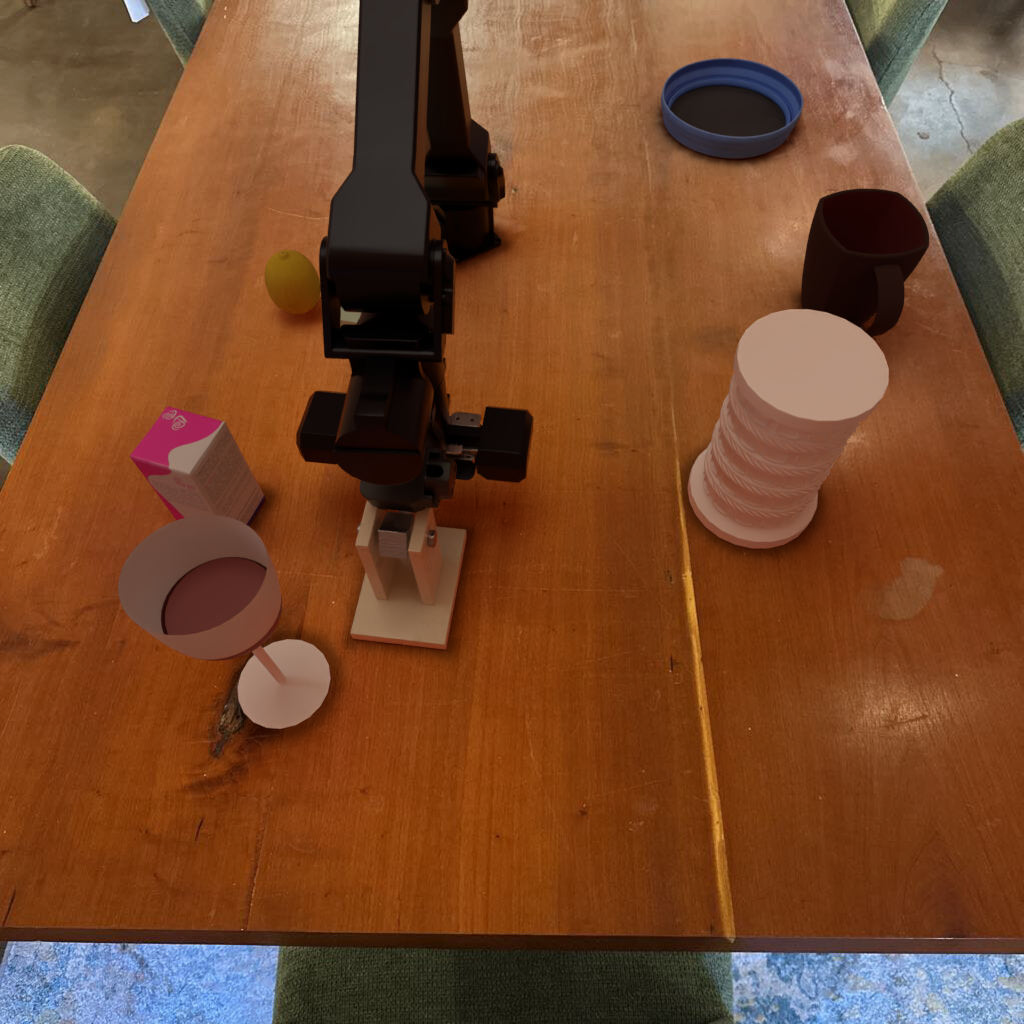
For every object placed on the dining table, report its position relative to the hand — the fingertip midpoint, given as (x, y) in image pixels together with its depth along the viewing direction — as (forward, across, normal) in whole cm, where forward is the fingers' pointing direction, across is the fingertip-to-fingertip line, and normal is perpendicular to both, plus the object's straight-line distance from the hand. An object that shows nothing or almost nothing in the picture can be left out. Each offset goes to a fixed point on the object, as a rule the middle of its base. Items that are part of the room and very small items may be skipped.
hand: (427, 492), depth 69 cm
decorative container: (+2, +30, +5) cm, 30 cm away
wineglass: (+3, -9, -18) cm, 20 cm away
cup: (+1, +39, +27) cm, 48 cm away
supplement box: (+2, -19, -3) cm, 19 cm away
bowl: (0, +28, +64) cm, 70 cm away
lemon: (+1, -19, +23) cm, 30 cm away
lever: (-3, 0, -5) cm, 6 cm away
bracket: (+2, 0, -8) cm, 9 cm away
